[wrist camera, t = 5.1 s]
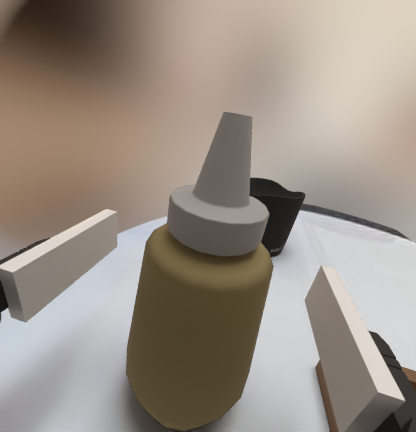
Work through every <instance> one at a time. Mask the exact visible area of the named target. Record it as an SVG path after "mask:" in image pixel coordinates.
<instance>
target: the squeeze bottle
mask: <svg viewBox="0 0 416 432" xmlns="http://www.w3.org/2000/svg"><path fill="white" fill-rule="evenodd" d="M251 140H252V117H249V116H245V115H240V114H235V113H228V112H224V113H223V115H222V118H221V120H220V123H219V125H218V128H217V131H216V133H215V136H214V139H213V141H212V144H211V146H210V149H209V152H208V154H207V157H206V159H205V162H204V165H203V167H202V170H201V172H200V175H199V178H198V180H197V183H196V185H186V186H183V187H179V188H177V189H175V190H174V191H173V192H172V194H171V195H170V200H169V210H168V219H167V223H166V224H165V225H163V226H161V227H159V228H157V229H155V230H154V231H153V233H152V234H151V236H150V237H149V238H148V240H147V241H146V245H145V251H144V256H143V262H142V267H141V273H140V278H139V284H138V289H137V295H136V301H135V306H134V312H133V317H132V323H131V328H130V334H129V339H128V345H127V364H126V375H127V377H128V379H129V382H130V384H131V386H132V389H133V391H134V393H135V396H136V398H137V401H138V402H139V403H140V404H141V405H142V406H143V407H144V408H145V409H146V410H147V412H148V413H149V414H150V415H151V416H152V417H154V418H155V419H156V420H157V421H158V422H159V423H161V424H162V425H163V426H164V427H165V428H170V429H175V430H179V431H187V430H190V429H193V428H196V427H199V426H202V425H205V424H207V423H210V422H212V421H215V420H217V419H220V418H221V417H222V416H223V415H224V414H225V413H226V412H227V411H228V410H229V409H230V408H231V407H232V406H233V405H234V404H235V403H236V402H237V401H238V400H239V399H240V398H241V395H242V392H243V389H244V386H245V383H246V380H247V377H248V374H249V371H250V366H251V362H252V358H253V353H254V349H255V345H256V340H257V336H258V332H259V327H260V323H261V319H262V315H263V310H264V306H265V302H266V297H267V293H268V289H269V284H270V280H271V276H272V271H273V263H272V260H271V257H270V254H269V252H268V250H267V249H266V248H265V247H264V245H263V244H262V243H261V240H262V237H263V234H264V231H265V228H266V225H267V221H268V218H269V212H268V210H267V208H266V206H265V205H264V204H263V203H261V202H260V201H259V200H257V199H256V198H254V197H251V196H249V194H250V167H251Z"/></svg>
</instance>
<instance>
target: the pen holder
mask: <svg viewBox="0 0 416 432" xmlns="http://www.w3.org/2000/svg"><path fill="white" fill-rule="evenodd" d="M249 196H251V197H254V198H256V199H257V200H259V201H260V202H261V203H263V204H264V205H265V206H266V208H267V210H268V212H269V218H268V221H267V225H266V228H265V231H264V234H263V237H262V240H261V243H262V244H263V245H264V247H265V248H266V249H267V250H268V252H269V254H270V256H274V255H277V254H279V253H280V252H281V251H282V250H283V247H284V245H285V243H286V241H287V238H288V236H289V234H290V231H291V229H292V227H293V224H294V222H295V220H296V217H297V215H298V213H299V210H300V208H301V205H302V203H303V201H304V198H305V194H304V193H303V192H291V191H288V190H287V189H285V188H283V187H282V186H281V185H279V184H278V183H277V182H274V181H272V180H268V179H262V178H250V194H249Z"/></svg>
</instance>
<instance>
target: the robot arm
mask: <svg viewBox="0 0 416 432" xmlns="http://www.w3.org/2000/svg"><path fill="white" fill-rule="evenodd" d="M116 247H117V212H116V211H112V210H109V209H106V210H104V211H102V212H100V213H98V214H96V215H94V216H92V217H90V218H88V219H87V220H85V221H83V222H81V223H79V224H77V225H75V226H73V227H71V228H69V229H68V230H66V231H64V232H62V233H60V234H58V235H56V236H54V237H52V238H48V239H44V240H41V241H37V242H35V243H34V244H31V245H30V246H28V247H27V248H24V249H22V250H20V251H19V252H16V253H14V254H12V255H10V256H8V257H6V258H4V259H2V260H0V321H1V312H2V311H4V310H5V309H6V308H9V312H10V315H11V317H12V318H15V319H18V320H20V321H23V322H27V321H28V320H29V319H31V318H32V317H33V316H34V315H35V314H37V313H38V312H39V311H40V310H41V309H43V308H44V307H45V306H46V305H47V304H49V303H50V302H51V301H52V300H53V299H55V298H56V297H57V296H58V295H59V294H61V293H62V292H63V291H64V290H65V289H67V288H68V287H69V286H70V285H71V284H73V283H74V282H75V281H76V280H78V279H79V278H80V277H81V276H82V275H84V274H85V273H86V272H87V271H88V270H90V269H91V268H92V267H93V266H94V265H96V264H97V263H98V262H99V261H100V260H102V259H103V258H104V257H105V256H106V255H108V254H109V253H110V252H111V251H112V250H114V249H115V248H116ZM305 303H306V307H307V311H308V315H309V319H310V323H311V326H312V330H313V334H314V338H315V342H316V346H317V349H318V353H319V357H320V361H321V365H322V369H323V373H324V376H325V380H326V384H327V388H328V392H329V396H330V399H331V403H332V407H333V411H334V415H335V419H336V423H337V426H338V430H339V432H416V391H415V389H414V388H413V386H412V384H411V383H410V381H409V379H408V377H407V376H406V374H405V372H404V371H402V367H401V366H400V364H399V362H398V361H397V360H396V357H395V355H394V354H393V352H392V350H391V349H390V347H389V345H388V344H387V343H386V342H385V341H384V340H383V339H382V338H381V337H380V336H379V335H378V334H377V333H375V332H371V331H368V330H367V328H366V326H365V324H364V322H363V320H362V318H361V316H360V315H359V313H358V311H357V309H356V307H355V305H354V303H353V301H352V300H351V298H350V296H349V294H348V292H347V290H346V288H345V286H344V285H343V283H342V281H341V279H340V277H339V275H338V273H337V272H336V270H335V269H334V268H330V267H326V266H322V265H321V267H320V269H319V271H318V273H317V275H316V278H315V280H314V282H313V284H312V286H311V288H310V290H309V292H308V294H307V296H306V299H305Z"/></svg>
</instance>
